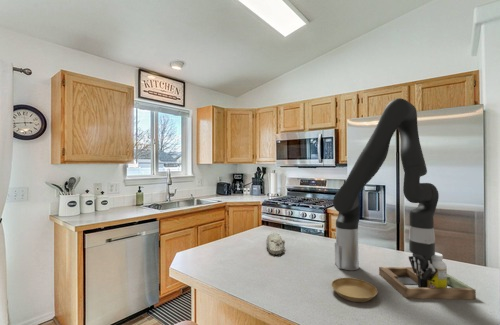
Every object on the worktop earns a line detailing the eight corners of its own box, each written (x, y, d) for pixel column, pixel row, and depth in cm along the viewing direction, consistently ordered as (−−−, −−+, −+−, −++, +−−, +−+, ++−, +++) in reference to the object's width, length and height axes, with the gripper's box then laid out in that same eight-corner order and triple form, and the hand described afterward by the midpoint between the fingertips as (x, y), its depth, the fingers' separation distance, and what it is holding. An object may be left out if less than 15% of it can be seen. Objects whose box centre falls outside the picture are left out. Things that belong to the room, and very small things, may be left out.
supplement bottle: (419, 286, 91) (418, 250, 91) (436, 285, 91) (435, 250, 92) (433, 295, 84) (432, 257, 85) (452, 294, 85) (451, 256, 85)
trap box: (405, 298, 83) (405, 288, 83) (379, 274, 101) (379, 267, 101) (475, 299, 82) (475, 290, 82) (436, 275, 100) (436, 267, 100)
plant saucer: (354, 310, 76) (354, 301, 76) (322, 289, 90) (322, 281, 90) (387, 300, 82) (387, 292, 82) (353, 281, 96) (353, 274, 96)
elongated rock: (281, 239, 158) (266, 240, 159) (281, 231, 159) (265, 231, 159) (287, 255, 123) (267, 256, 124) (286, 244, 124) (266, 245, 124)
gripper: (400, 234, 95) (401, 280, 95) (422, 245, 82) (423, 298, 81) (420, 234, 95) (421, 280, 94) (446, 245, 81) (447, 298, 81)
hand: (422, 288), depth 88 cm, fingers closed
